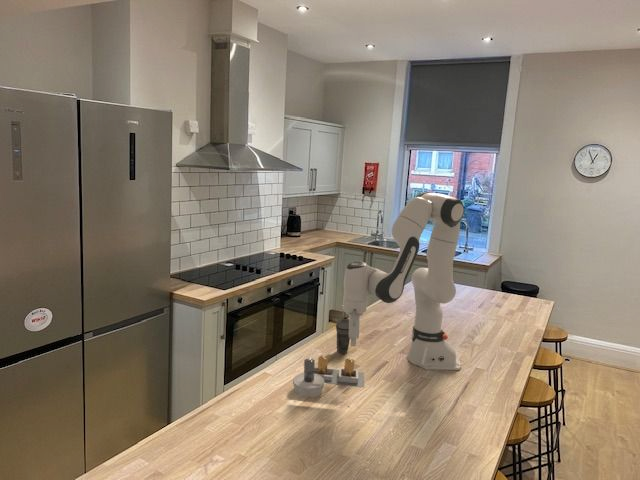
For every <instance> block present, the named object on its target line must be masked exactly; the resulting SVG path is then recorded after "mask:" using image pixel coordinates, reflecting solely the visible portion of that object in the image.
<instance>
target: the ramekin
mask: <svg viewBox="0 0 640 480" xmlns="http://www.w3.org/2000/svg"><path fill="white" fill-rule="evenodd" d="M292 385H293V391H294V394H296V395H298V396H299V397H303V398H317V397H319V396H320V395H321V394H322V393H323V389H324V386H325V383H324V379H323V378H322V377H321V376H319V375H317V374H314V381H312V382H306V381H304V372H301V373H299V374H296V375H295V376H294V377H293V379H292Z"/></svg>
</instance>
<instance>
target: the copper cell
mask: <svg viewBox="0 0 640 480" xmlns="http://www.w3.org/2000/svg"><path fill="white" fill-rule="evenodd" d="M343 368H344V376H349V377H353V373H354V369H355V360H354V359H353V358H345V359H344V367H343Z"/></svg>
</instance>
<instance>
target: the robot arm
mask: <svg viewBox="0 0 640 480" xmlns="http://www.w3.org/2000/svg"><path fill="white" fill-rule="evenodd" d="M464 214H465V206H464V203H463V201H462V200H460V199H459V198H457V197H455V196H449V195H446V194H443V193H435V192H434V193H432V192H429V191H427V192H426V191H425V192H420V193H418V194H417V195H416V196H415V197H413V198H411V199H410V200H409V201H408V202H407V204H405V206H404V207H403V208H402V210H401V211H400V212H399V214H398V215H397V217H396V219H395V220H394V221H393V222H394V223H393V224H392V227H391V235H392V239H393V240H394V241H395V243H396V244H397V245H398V247H399V254H398V257H397V258H396V261H395V263H394V265H393V267H392V269H391V271H390V272H389V273H387V272H385V271H383V270H381V269H379V268H376V267H372V266H370V265H368V264H367V263H366V262H364V261H353V262H349V264H347V265H346V268H345V271H344V276H343V289H344V293H343V296H342V298H343V300H342V301H343V302H342V311H343V310H344V313H345V315H346V316H348V319H349V338H350V346H351V347H356V344H357V340H358V339H359V337H360V321H361V320H360V317H362V316H363V315H364V313H366V312H367V309H368V305H367V304H368V295H372V296H374V297H376V298H378V299H379V300H381V301H382V302H383V303H386V304H393V303H395V302H396V301H397V300H399V299H400V298H401V296H402V295H403V293H404V289H405V285H406V281H407V279H408V276H409V274H410V271H411V270H412V267H413V264H414V262H415V261H416V259H417V256H418V253H419V249H420V238H421V236H422V234H423V232H424V230H425V228H426V227H427V225H428V222H429V221H431V222H433V223H434V225H433V227H432V230H431V233H430V238H429V241H428V245H427V250H426V260H427V267H419V268H417V269H415V270H414V271H413V272H412V274H411V284H412V286H413V292H414V300H415V301H414V302H415V315H414V324H413V327H412V330H411V331H412V332H411V343H410V347H409V350H408V353H407V355H406V360H408V362H409V363H410V364H411V363H412V364H413V365H416V366H419V367H420V368H422V369H423V370H426V371H430V370H432V371H433V370H435V371H459V370H460V369H461V368H462V362H461V361H460V359H459V358H458V357H457V353H456V350H455V348H454V346H452V344H451V343H449V342H448V338H449V336H448V334H447V333H446V331H444V330H443V329H442V323H443V310H442V309H443V308H442V307H441V304H443V305H444V304H448V303H450V302H452V301H453V300H454V298H455V297H456V293H457V287H456V285H455V281H454V270H453V269H454V268H453V267H454V259H455V255H456V251H457V248H458V247H457V246H458V242H459V238H460V231H461V220H462V218H463V217H464Z"/></svg>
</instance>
